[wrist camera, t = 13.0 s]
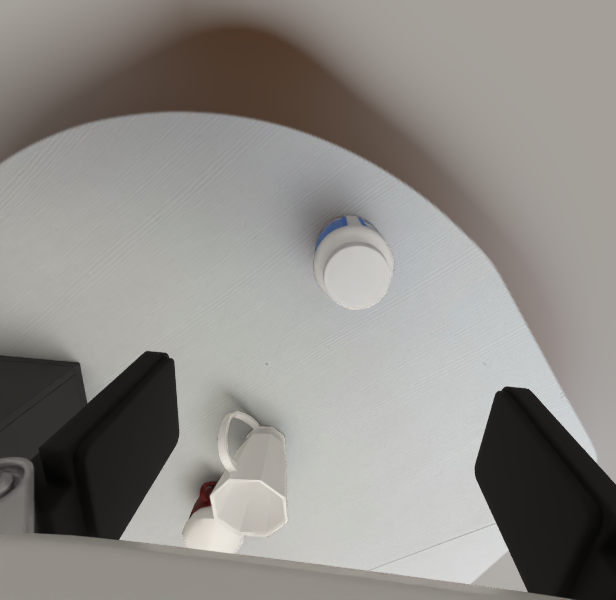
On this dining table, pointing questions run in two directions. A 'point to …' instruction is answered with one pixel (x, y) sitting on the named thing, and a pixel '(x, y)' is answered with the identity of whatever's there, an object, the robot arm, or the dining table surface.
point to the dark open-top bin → (36, 402)
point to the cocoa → (208, 527)
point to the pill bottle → (353, 263)
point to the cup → (252, 481)
